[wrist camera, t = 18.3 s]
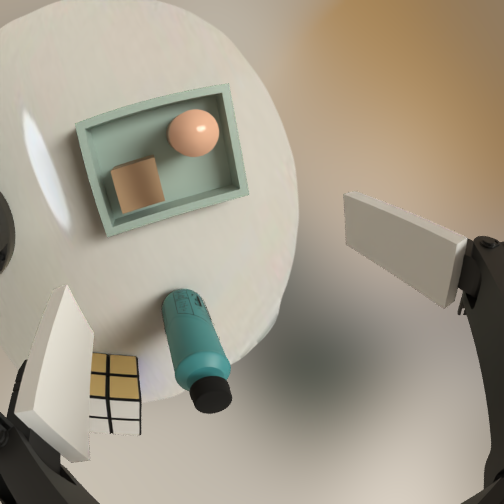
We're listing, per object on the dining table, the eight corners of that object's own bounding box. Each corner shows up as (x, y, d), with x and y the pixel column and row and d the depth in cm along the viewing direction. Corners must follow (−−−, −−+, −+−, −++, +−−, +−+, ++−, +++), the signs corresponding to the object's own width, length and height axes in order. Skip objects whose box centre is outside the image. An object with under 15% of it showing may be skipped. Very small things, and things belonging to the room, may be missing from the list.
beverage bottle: (152, 310, 42) (170, 418, 25) (172, 274, 41) (200, 376, 24) (190, 324, 45) (224, 426, 28) (210, 291, 44) (257, 388, 27)
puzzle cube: (136, 393, 47) (141, 436, 39) (84, 389, 43) (82, 432, 35) (137, 355, 44) (141, 400, 36) (79, 349, 40) (73, 395, 32)
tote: (110, 227, 36) (107, 237, 32) (82, 124, 29) (74, 123, 26) (239, 188, 40) (249, 194, 36) (220, 87, 34) (229, 83, 30)
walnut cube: (125, 203, 35) (122, 214, 30) (115, 166, 32) (110, 170, 28) (162, 192, 36) (165, 200, 32) (153, 154, 34) (154, 157, 29)
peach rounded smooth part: (170, 157, 34) (175, 162, 28) (162, 118, 32) (166, 115, 26) (209, 147, 36) (222, 151, 30) (202, 109, 33) (214, 105, 27)
